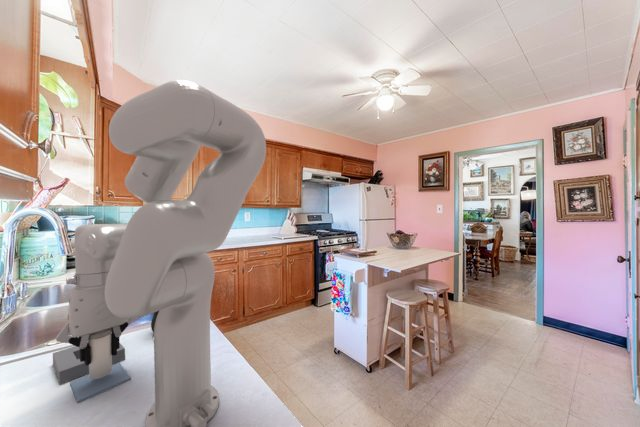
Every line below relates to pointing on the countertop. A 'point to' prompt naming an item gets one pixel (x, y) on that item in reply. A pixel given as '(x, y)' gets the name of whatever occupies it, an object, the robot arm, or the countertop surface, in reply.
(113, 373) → the mat
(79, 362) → the socket block
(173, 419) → the robot arm
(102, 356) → the plug
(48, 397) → the countertop surface
